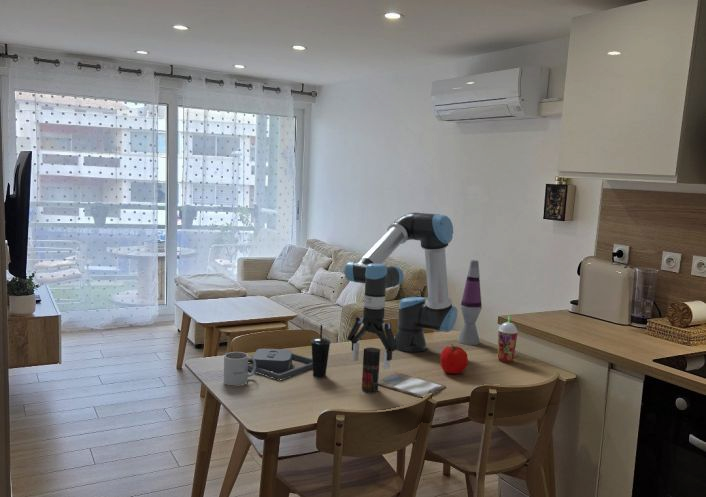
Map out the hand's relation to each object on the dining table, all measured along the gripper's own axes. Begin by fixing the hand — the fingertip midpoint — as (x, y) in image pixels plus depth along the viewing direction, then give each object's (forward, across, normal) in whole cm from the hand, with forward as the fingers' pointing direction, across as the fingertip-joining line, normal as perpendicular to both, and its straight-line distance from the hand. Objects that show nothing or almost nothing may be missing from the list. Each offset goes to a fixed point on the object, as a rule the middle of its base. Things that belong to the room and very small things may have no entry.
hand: (370, 364), depth 209 cm
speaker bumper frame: (+10, -42, -4) cm, 43 cm away
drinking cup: (+10, -23, -1) cm, 25 cm away
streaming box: (+10, -43, -5) cm, 45 cm away
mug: (+10, -40, -26) cm, 49 cm away
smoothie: (+9, +24, +70) cm, 75 cm away
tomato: (+9, +14, +39) cm, 43 cm away
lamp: (+9, -1, +86) cm, 87 cm away
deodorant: (+10, 0, 0) cm, 10 cm away
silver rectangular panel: (+9, +8, +14) cm, 19 cm away
